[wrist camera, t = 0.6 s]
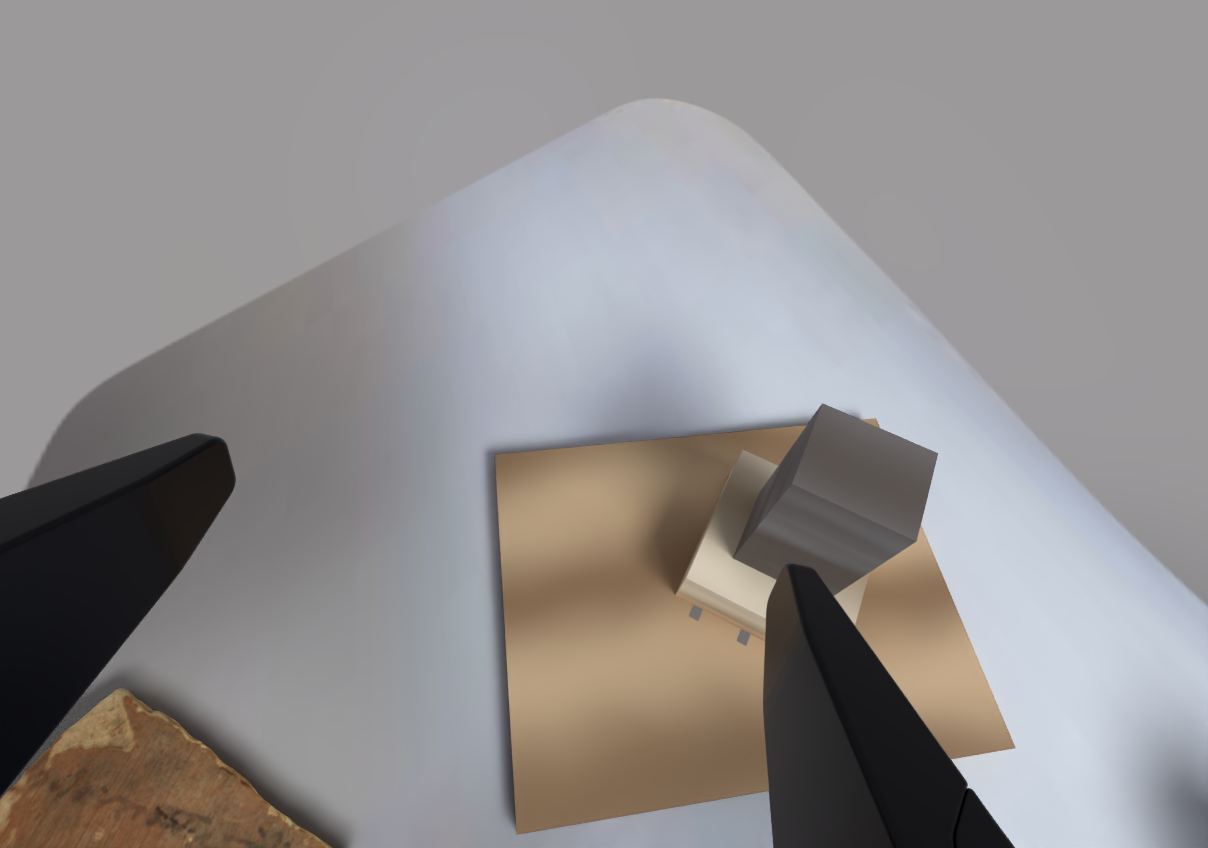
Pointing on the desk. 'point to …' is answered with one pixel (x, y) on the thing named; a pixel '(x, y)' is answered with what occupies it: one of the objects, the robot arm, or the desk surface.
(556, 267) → the desk surface
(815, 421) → the grey block on base
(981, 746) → the oak board
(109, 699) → the shard
